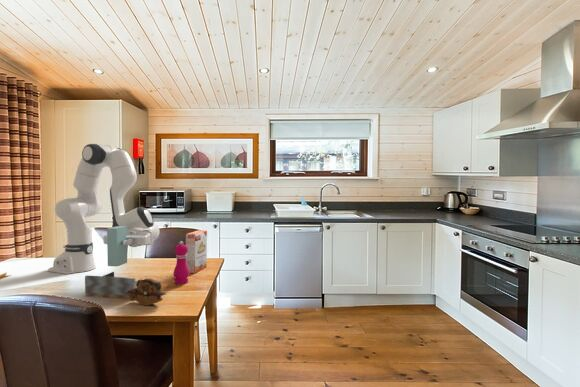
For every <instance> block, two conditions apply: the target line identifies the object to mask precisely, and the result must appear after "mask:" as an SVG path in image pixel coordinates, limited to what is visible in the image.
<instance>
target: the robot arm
mask: <svg viewBox="0 0 580 387" xmlns="http://www.w3.org/2000/svg"><path fill="white" fill-rule="evenodd" d="M81 156H82V157H81V159H80V161H79V163H78V166H77V169H76V172H75V175H74V176H75V177H74V180H73V184H72V186H73V187H74V189H76V190H77V197H71V198H70V197H68V198H65V199H62V200H58V201H57V202H56V203H55V206H54V213H55V215H56V216H57V217H58V218H59V219H61V220H62V222H63V223H64V225H65V227H66V234H67V244H65V245H64V246H63V247H62V248H63V249H64V248H65V249H64V251H63V252H62V253H61V254H59V255H58V256H57V257H55V258H54V260H53V264H52V267H50V268H48V269H47V272H50V273H58V274H64V275H68V274H69V275H70V274H73V273H74V274H75V273H82V272H84V273H85V272H88V271H89V272H90V271H92V270H94V269H96V264H95V260H94V255H93V254H94V252H93V249H94V243H93V235H92V234H93V233H92V231H93V229H92V227H91V226H89V225H88V224H87V222H86V220H85V218H88V217H92V216H95V215H97V214H99V213H100V212H101V210H102V203H101V200H99V197H98V188H99V187H98V186H99V183H100V179H101V175H102V172H103V168H105V167H108V168H110V169H109V170H110V173H111V185H110V187H109V197H110V204H111V212H112V213H111V214H112V227H116V226H127V240H122V241H121V245H126V244H127V246H129V247H132V248H137V247H141V246H150V245H153V242H154V241H155V240H157V238H158V237H159V235H160V232H161V231H160V228H159V226H158V225H157V224H155V223H154V219H153V218H154V217H153V214H152V213H151V211H150V210H148V209H147V208H146V207H144V206H138V207H135V208H134V209H131V210H129V211H128V212H126V211H125V204H124V198H125V196H126V194H127V193H128V191H129V190H130V189H131V188H133V186H135V184H136V182H137V179H138V178H137V177H138V174H137V170H136V168H135V165H134V162H133V159H132V158H131V156H130V155H129V153H128V152H127V151H126V150H124V149H122V148H119V147H115V146H111V145H108V144H107V145H105V144H97V143H89V144H86V145H85V146H84V147H83V148H82V151H81ZM102 239H103V244H104V245H107V234H106V235H104V236H103V238H102Z"/></svg>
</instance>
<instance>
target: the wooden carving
mask: <svg viewBox="0 0 580 387" xmlns="http://www.w3.org/2000/svg"><path fill="white" fill-rule="evenodd" d="M136 281H137V284H136V286H137V288H133V289H131V290H129V291H127V293H128V296H129V298H130V299H129V301H130V302H135V301H136V302H137V303H138V304H140V305H142V306H144V305H145V306H149V305H153V304H157V303H160V302H161V301H163V300H164V299H163V298H162V296H165V295H167V293H166V292H165V291H162V283H161V281H158V280H157V279H154V278H151V277H150V278H145V279H142V278H140V279H138V280H136Z"/></svg>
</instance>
